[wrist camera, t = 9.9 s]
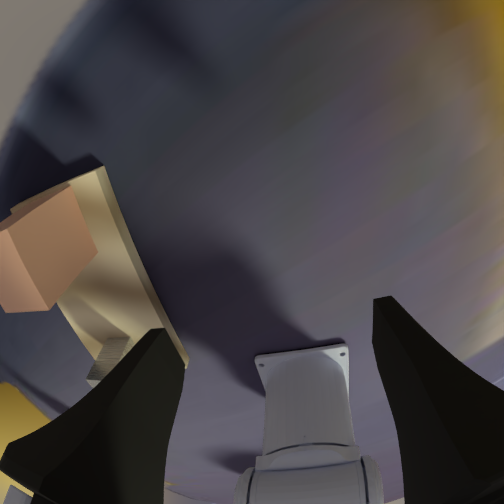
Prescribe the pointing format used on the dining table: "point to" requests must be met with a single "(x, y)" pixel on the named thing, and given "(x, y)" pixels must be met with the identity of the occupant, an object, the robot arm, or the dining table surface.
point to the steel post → (109, 358)
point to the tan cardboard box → (42, 252)
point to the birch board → (108, 273)
